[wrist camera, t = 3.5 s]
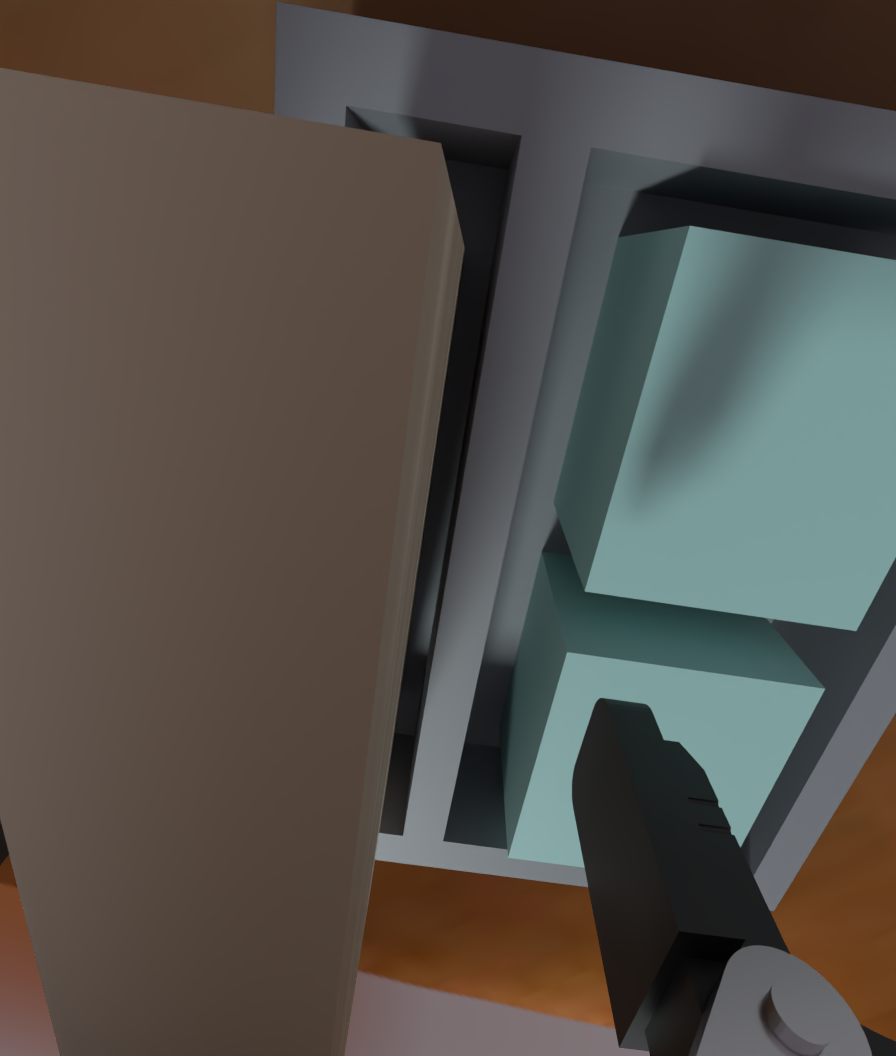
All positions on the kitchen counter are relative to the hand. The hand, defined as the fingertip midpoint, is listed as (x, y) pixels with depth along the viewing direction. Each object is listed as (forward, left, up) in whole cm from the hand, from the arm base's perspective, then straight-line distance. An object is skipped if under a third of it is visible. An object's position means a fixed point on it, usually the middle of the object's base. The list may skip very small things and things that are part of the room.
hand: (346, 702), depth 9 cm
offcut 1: (+7, +4, -8) cm, 12 cm away
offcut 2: (+7, -4, -8) cm, 12 cm away
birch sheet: (0, 0, -8) cm, 8 cm away
